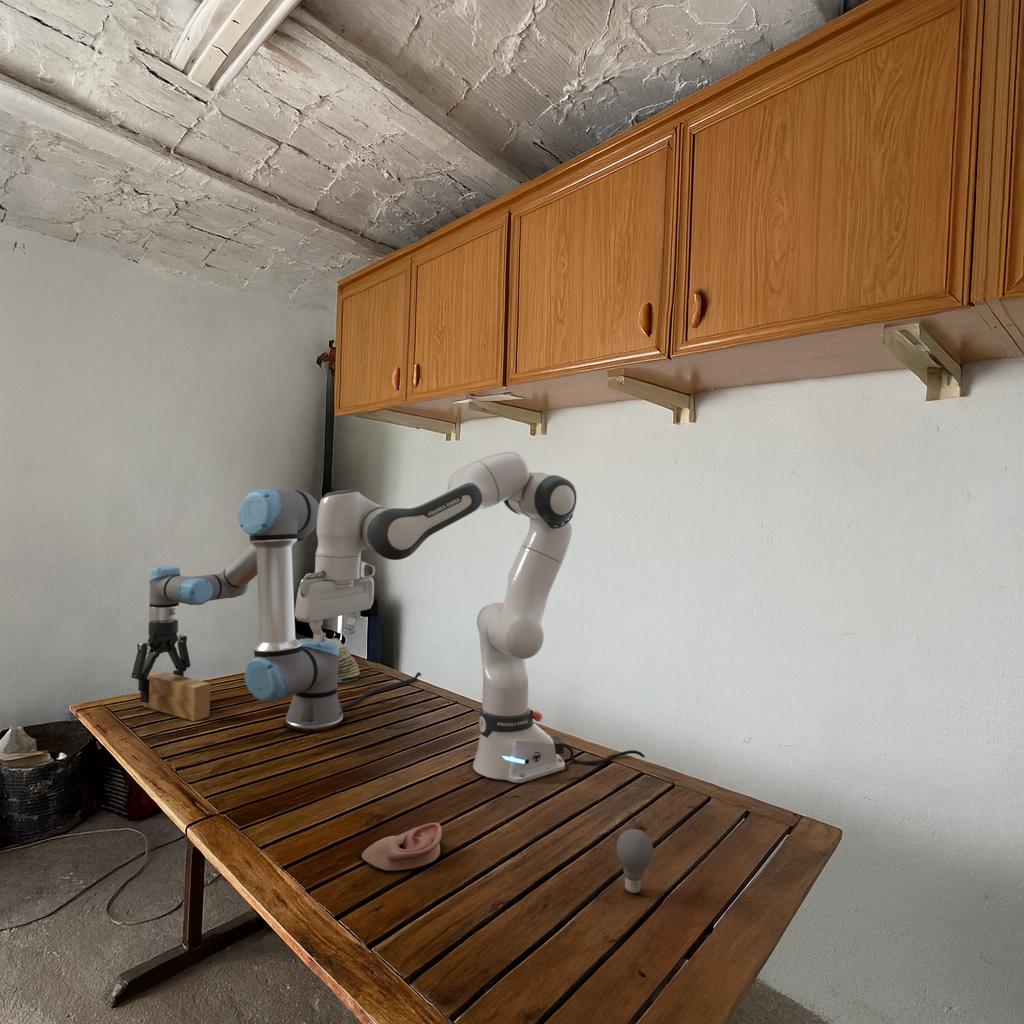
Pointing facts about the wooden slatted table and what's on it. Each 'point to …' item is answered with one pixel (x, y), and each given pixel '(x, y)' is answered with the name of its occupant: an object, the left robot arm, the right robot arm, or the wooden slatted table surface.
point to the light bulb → (634, 857)
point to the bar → (178, 695)
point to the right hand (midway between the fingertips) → (335, 637)
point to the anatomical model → (406, 849)
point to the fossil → (345, 663)
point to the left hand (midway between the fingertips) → (161, 697)
